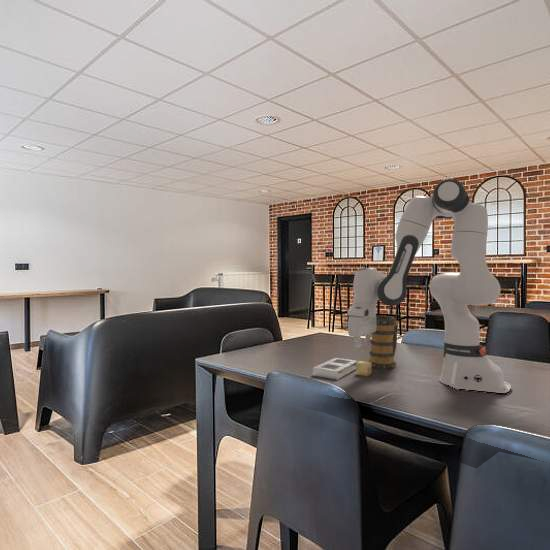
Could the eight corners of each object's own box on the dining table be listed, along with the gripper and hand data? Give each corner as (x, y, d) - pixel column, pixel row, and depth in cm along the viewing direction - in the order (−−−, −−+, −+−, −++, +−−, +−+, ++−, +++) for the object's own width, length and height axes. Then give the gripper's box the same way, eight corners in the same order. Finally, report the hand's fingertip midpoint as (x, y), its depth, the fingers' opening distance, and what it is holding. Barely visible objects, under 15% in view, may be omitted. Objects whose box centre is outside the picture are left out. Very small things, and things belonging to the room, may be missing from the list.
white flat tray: (358, 368, 165) (358, 360, 164) (337, 379, 148) (337, 371, 148) (335, 364, 170) (335, 357, 170) (312, 375, 153) (312, 367, 153)
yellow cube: (371, 373, 157) (371, 362, 157) (367, 376, 153) (367, 364, 153) (360, 372, 159) (360, 360, 159) (355, 374, 155) (356, 362, 155)
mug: (359, 365, 170) (360, 317, 170) (383, 359, 181) (384, 314, 181) (386, 371, 160) (386, 320, 160) (409, 364, 172) (410, 317, 171)
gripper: (366, 308, 166) (364, 341, 166) (345, 310, 149) (344, 348, 149) (381, 309, 163) (379, 344, 163) (362, 312, 146) (360, 351, 146)
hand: (362, 346), depth 156 cm, fingers open, 8 cm apart
